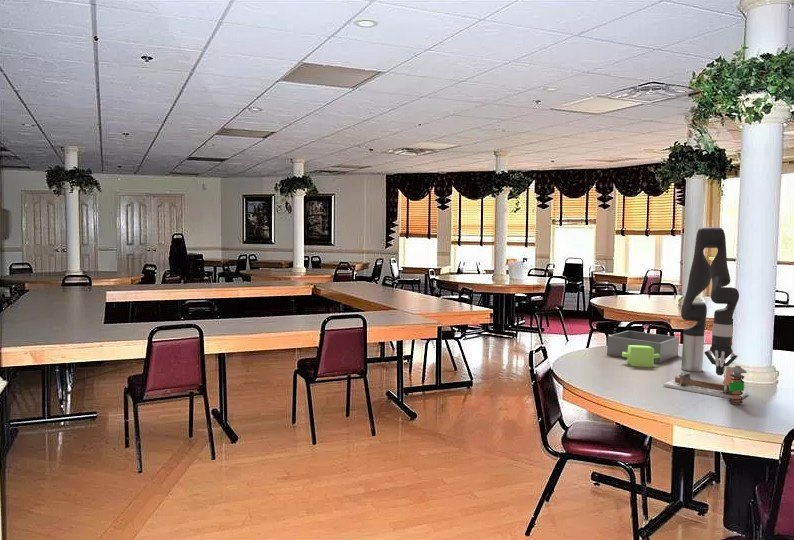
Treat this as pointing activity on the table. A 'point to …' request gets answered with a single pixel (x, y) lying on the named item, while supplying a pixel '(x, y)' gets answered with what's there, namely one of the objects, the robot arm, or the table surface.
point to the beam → (698, 382)
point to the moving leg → (727, 378)
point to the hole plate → (701, 389)
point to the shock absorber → (736, 384)
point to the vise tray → (643, 344)
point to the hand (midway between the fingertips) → (719, 375)
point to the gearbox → (640, 355)
